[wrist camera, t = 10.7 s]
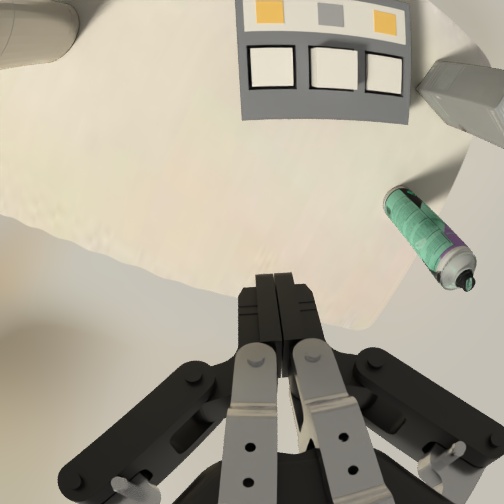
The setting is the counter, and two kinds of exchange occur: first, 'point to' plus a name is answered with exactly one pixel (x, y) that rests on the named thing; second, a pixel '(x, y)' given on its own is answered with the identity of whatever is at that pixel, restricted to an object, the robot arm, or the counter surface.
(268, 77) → the button
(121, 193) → the counter surface
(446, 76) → the skincare box
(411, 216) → the spray can
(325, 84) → the middle button
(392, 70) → the button
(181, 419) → the robot arm
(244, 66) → the button panel
